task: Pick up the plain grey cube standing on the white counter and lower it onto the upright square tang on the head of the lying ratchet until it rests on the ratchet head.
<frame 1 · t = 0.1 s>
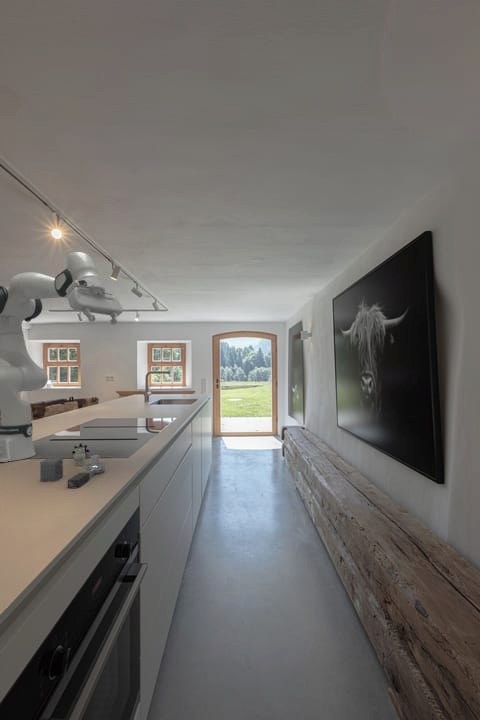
hand: (104, 322, 125), 54 cm above the worktop, tool tilted 30°, fingers open, 8 cm apart
valve: (80, 463, 142), on the worktop
plain grey cube: (51, 478, 121), on the worktop
ratchet: (95, 472, 128), on the worktop
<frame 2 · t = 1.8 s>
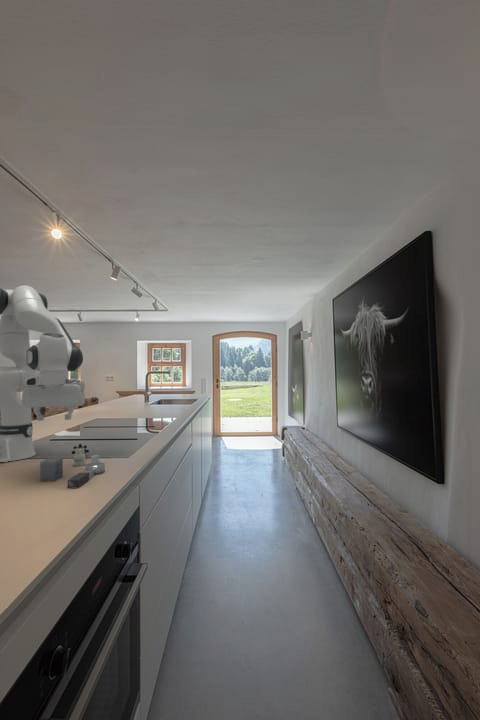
hand: (54, 419, 121), 20 cm above the worktop, tool pointing down, fingers open, 8 cm apart
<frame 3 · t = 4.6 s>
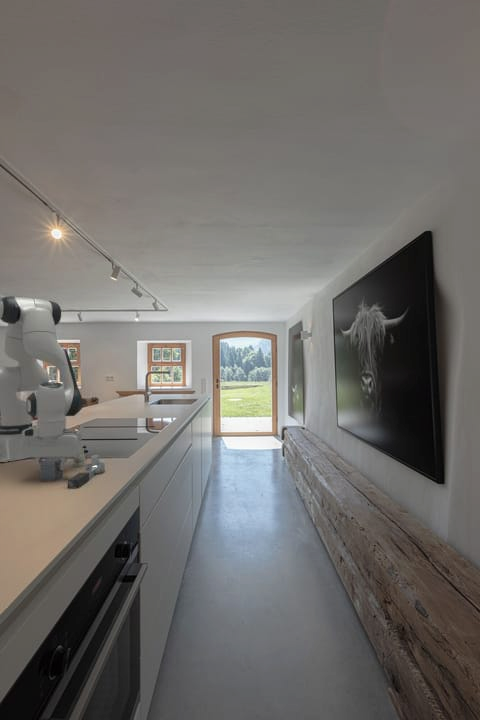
hand: (51, 469, 121), 3 cm above the worktop, tool pointing down, fingers closed on plain grey cube, 5 cm apart
plain grey cube: (51, 478, 121), on the worktop, touching gripper
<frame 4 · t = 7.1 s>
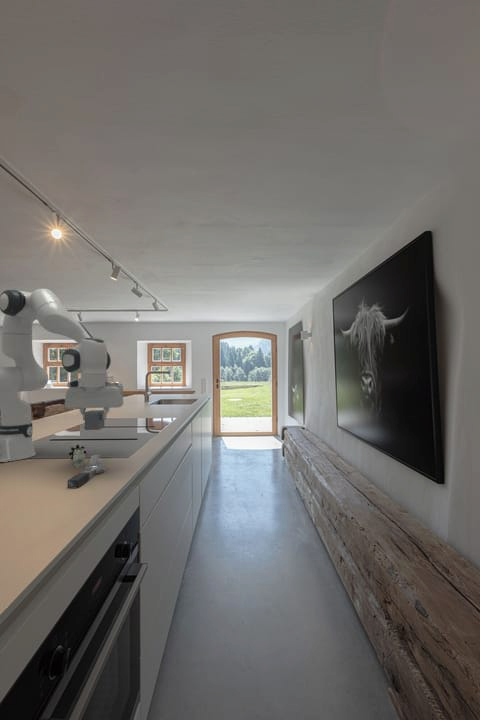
hand: (94, 420, 128), 19 cm above the worktop, tool pointing down, fingers closed on plain grey cube, 5 cm apart
plain grey cube: (94, 428, 128), point 16 cm above the worktop, touching gripper
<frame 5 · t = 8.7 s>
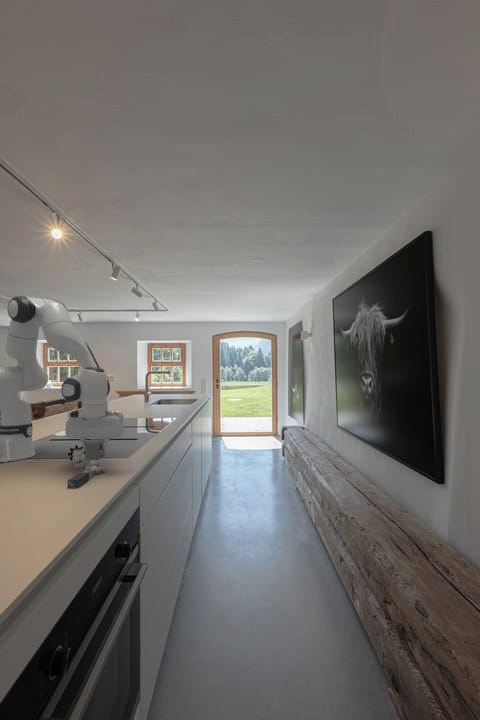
hand: (95, 449, 128), 8 cm above the worktop, tool pointing down, fingers closed on plain grey cube, 5 cm apart
plain grey cube: (95, 458, 127), point 5 cm above the worktop, touching gripper
when the fingers open (7 cm above the worktop, at t = 9.7 s): plain grey cube drops 1 cm, resting on ratchet.
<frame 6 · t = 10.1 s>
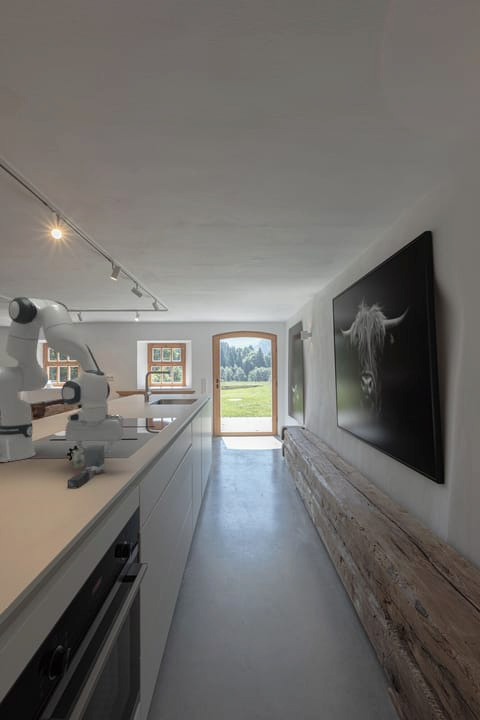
hand: (94, 452, 128), 7 cm above the worktop, tool pointing down, fingers open, 8 cm apart
plain grey cube: (94, 464, 128), point 3 cm above the worktop, touching ratchet
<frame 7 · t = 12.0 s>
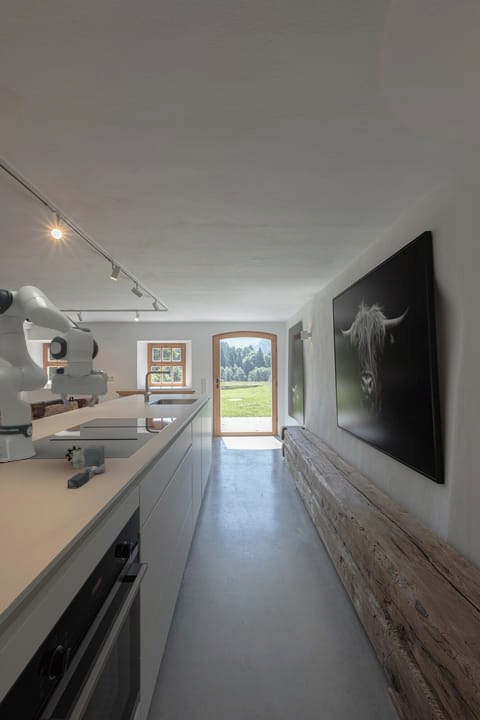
hand: (79, 406, 132), 23 cm above the worktop, tool pointing down, fingers open, 8 cm apart
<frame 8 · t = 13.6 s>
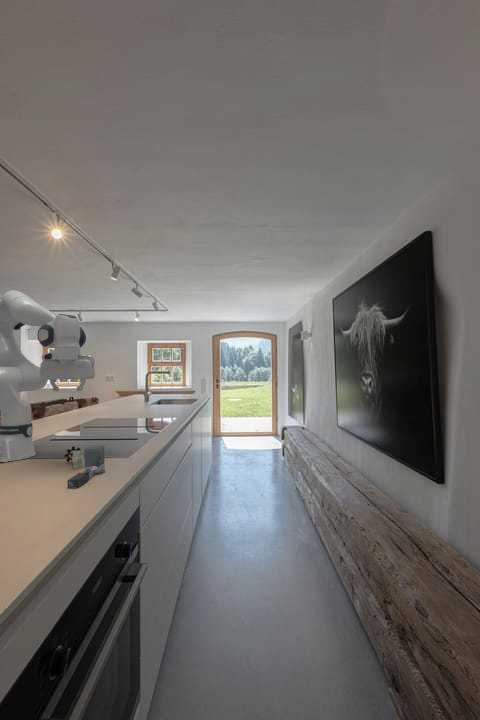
hand: (67, 391, 136), 29 cm above the worktop, tool pointing down, fingers open, 8 cm apart
at the end: plain grey cube 0.1 cm off-centre on the ratchet, point 2.8 cm above the ratchet's base; the gripper is holding nothing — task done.
